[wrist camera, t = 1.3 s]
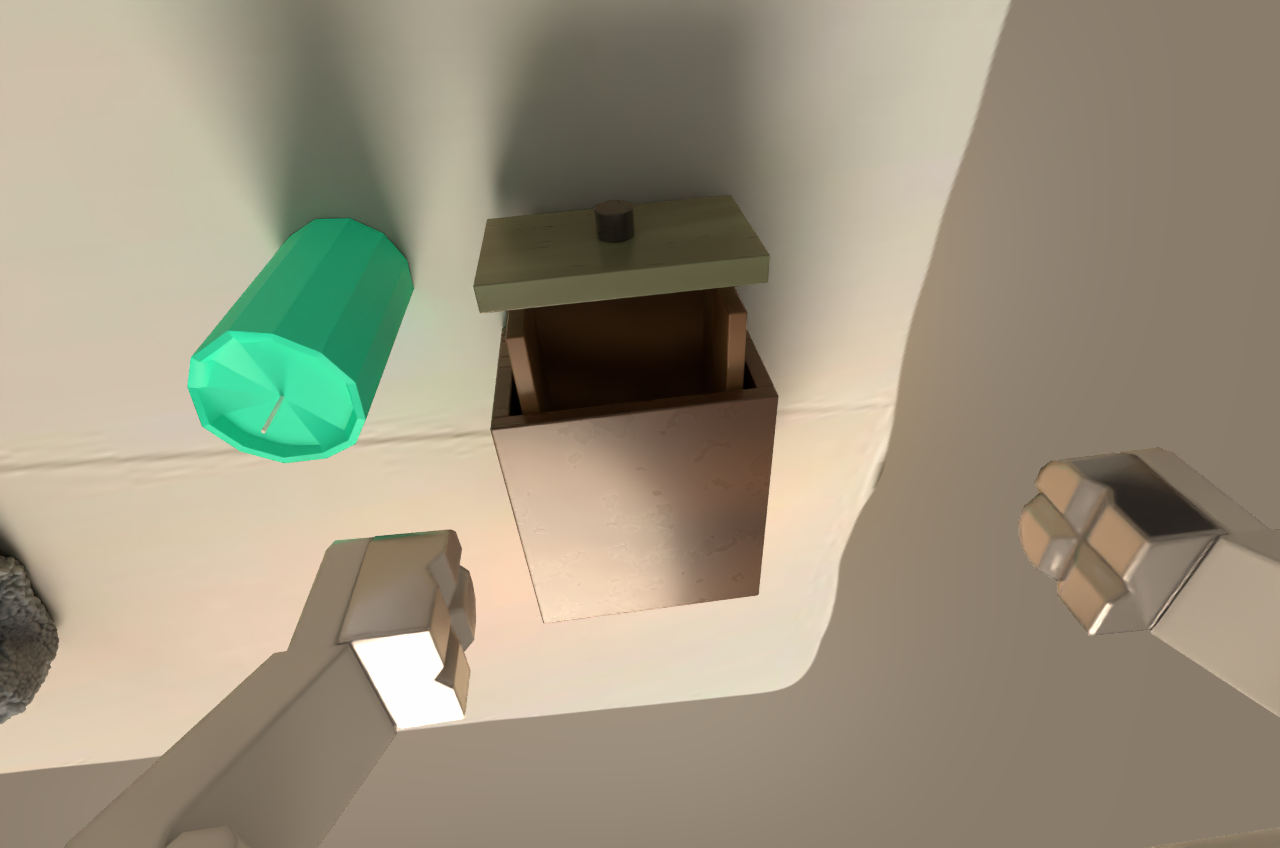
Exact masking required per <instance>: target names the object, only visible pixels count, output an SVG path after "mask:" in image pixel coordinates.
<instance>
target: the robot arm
mask: <svg viewBox="0 0 1280 848" xmlns="http://www.w3.org/2000/svg"><path fill="white" fill-rule="evenodd" d="M1035 484H1036V486H1037V488H1038V490H1039V492H1040V493H1039V494H1038V495H1036V496H1035V497H1034V498H1033V499H1032V500H1030V501H1029V502H1028V503H1027V504H1026V505H1025V506H1024V508H1023V511H1022V513H1021V516H1020V519H1019V521H1018V528H1019V539H1020V543H1021V545H1022V547H1023V550H1024V552H1025V554H1026V556H1027V557H1028V558H1029V560H1030V561H1031V563H1032V564H1033V565H1034V566H1035V568H1036V569H1037V570H1039V571H1040V572H1042V573H1044V574H1046V575H1047V576H1049V577H1051V578H1053V579H1055V580H1056V581H1058V592H1057V596H1058V597H1059V598H1060V599H1061V601H1062V602H1063V603H1064V604H1065V605H1066V607H1067V608H1068V609H1069V611H1070V612H1071V613H1072V614H1073V616H1074V617H1075V618H1076V619H1077V620H1078V622H1079V623H1080V624H1081V625H1082V627H1083V628H1084V629H1085V630H1086V632H1087V633H1088V634H1089V635H1090V636H1094V635H1104V634H1114V633H1123V632H1133V631H1143V630H1152V629H1153V630H1152V632H1151V633H1152V634H1153V635H1155V636H1156V637H1158V638H1159V639H1161V640H1162V641H1164V642H1166V643H1167V644H1169V645H1170V646H1172V647H1173V648H1175V649H1176V650H1178V651H1179V652H1181V653H1182V654H1184V655H1185V656H1187V657H1188V658H1190V659H1191V660H1193V661H1194V662H1196V663H1198V664H1199V665H1201V666H1202V667H1204V668H1205V669H1207V670H1208V671H1210V672H1211V673H1213V674H1214V675H1216V676H1218V677H1219V678H1220V679H1222V680H1224V681H1225V682H1226V683H1228V684H1230V685H1231V686H1233V687H1234V688H1236V689H1237V690H1239V691H1240V692H1242V693H1243V694H1245V695H1246V696H1248V697H1250V698H1251V699H1252V700H1254V701H1255V702H1257V703H1258V704H1260V705H1262V706H1263V707H1265V708H1266V709H1268V710H1269V711H1271V712H1272V713H1274V714H1275V715H1277V716H1279V717H1280V529H1275V530H1271V529H1270V528H1268V527H1267V526H1266V525H1265V524H1263V523H1262V522H1261V521H1260V520H1258V519H1257V518H1256V517H1254V516H1253V515H1252V514H1251V513H1249V512H1248V511H1247V510H1245V509H1244V508H1243V507H1242V506H1240V505H1239V504H1238V503H1237V502H1235V501H1234V500H1233V499H1232V498H1230V497H1229V496H1228V495H1226V494H1225V493H1224V492H1223V491H1221V490H1220V489H1219V488H1218V487H1216V486H1215V485H1214V484H1212V483H1211V482H1210V481H1209V480H1207V479H1206V478H1205V477H1204V476H1202V475H1201V474H1200V473H1198V472H1197V471H1196V470H1194V469H1193V468H1192V467H1191V466H1190V465H1188V464H1187V463H1186V462H1185V461H1183V460H1182V459H1181V458H1179V457H1178V456H1177V455H1176V454H1174V453H1172V452H1169V451H1167V450H1164V449H1162V448H1158V447H1157V448H1149V449H1141V450H1133V451H1125V452H1120V453H1110V454H1101V455H1093V456H1085V457H1077V458H1069V459H1061V460H1053V461H1050V462H1049V463H1047V464H1046V465H1045V466H1044V467H1042V468H1041V469H1040V472H1039V474H1038V476H1037V478H1036V480H1035ZM461 551H462V548H461V545H460V542H459V539H458V537H457V534H456V532H455V531H453V530H440V531H428V532H417V533H406V534H395V535H384V536H375V537H372V538H360V539H348V540H336V541H334V542H333V544H332V545H331V546H330V547H329V548H328V549H327V550H326V552H325V554H324V557H323V560H322V562H321V565H320V567H319V570H318V572H317V575H316V578H315V580H314V583H313V585H312V588H311V590H310V593H309V596H308V598H307V601H306V603H305V606H304V608H303V611H302V614H301V616H300V619H299V621H298V624H297V626H296V629H295V632H294V634H293V637H292V639H291V642H290V644H289V647H288V650H287V651H284V652H278V653H274V654H272V655H271V656H270V657H269V658H268V659H267V660H266V661H265V662H264V663H263V664H262V665H260V666H259V667H258V668H257V669H256V670H255V671H254V672H253V673H252V674H251V675H250V676H248V677H247V678H246V679H245V680H244V681H243V682H242V683H241V684H240V685H239V686H238V687H237V688H235V689H234V690H233V691H232V692H231V693H230V694H229V695H228V696H227V697H226V698H225V699H223V700H222V701H221V702H220V703H219V704H218V705H217V706H216V707H215V708H214V709H213V710H211V711H210V712H209V713H208V714H207V715H206V716H205V717H204V718H203V719H202V720H201V721H199V722H198V723H197V724H196V725H195V726H194V727H193V728H192V729H191V730H190V731H189V732H187V733H186V734H185V735H184V736H183V737H182V738H181V739H180V740H179V741H178V742H177V743H176V744H174V745H173V746H172V747H171V748H170V749H169V750H168V751H167V752H166V753H165V754H164V755H162V756H161V757H160V758H159V759H158V760H157V761H156V762H155V763H154V764H153V765H152V766H150V768H148V769H147V770H146V771H145V772H144V773H143V774H142V775H141V776H140V777H138V779H136V780H135V781H134V782H133V783H132V784H131V785H130V786H129V787H128V788H126V790H125V791H123V792H122V793H121V794H120V795H119V796H118V797H117V798H116V799H115V800H113V801H112V802H111V803H110V804H109V805H108V806H107V807H106V808H105V809H104V810H103V811H101V812H100V813H99V814H98V815H97V816H96V817H95V818H94V819H93V820H92V821H91V822H89V823H88V824H87V825H86V826H85V827H84V828H83V829H82V830H81V831H80V832H79V833H78V834H76V835H75V836H74V837H73V838H72V839H71V840H70V841H69V842H68V843H67V844H66V846H65V848H318V847H319V845H320V844H321V843H322V841H323V840H324V838H325V837H326V836H327V834H328V833H329V831H330V830H331V828H332V827H333V825H334V824H335V822H336V821H337V820H338V818H339V816H340V815H341V814H342V812H343V811H344V810H345V808H346V806H347V805H348V804H349V802H350V801H351V799H352V798H353V796H354V795H355V794H356V792H357V791H358V789H359V788H360V786H361V785H362V784H363V782H364V781H365V779H366V778H367V776H368V775H369V773H370V772H371V770H372V769H373V767H374V766H375V765H376V763H377V762H378V760H379V759H380V757H381V756H382V755H383V753H384V752H385V750H386V749H387V747H388V746H389V744H390V743H391V742H392V740H393V739H394V737H395V736H396V734H397V731H396V730H395V729H401V728H407V727H414V726H420V725H426V724H432V723H439V722H445V721H451V720H458V719H464V718H465V711H466V703H467V695H468V687H469V678H470V667H469V665H468V662H467V659H466V656H465V653H464V651H465V650H466V649H467V648H468V647H469V645H470V644H471V643H472V642H473V641H474V635H475V625H476V604H475V594H474V588H473V583H472V579H471V576H470V573H469V571H468V570H466V569H465V568H463V567H462V566H460V558H461ZM1147 848H1280V827H1277V828H1270V829H1264V830H1257V831H1251V832H1244V833H1238V834H1232V835H1225V836H1219V837H1213V838H1206V839H1200V840H1193V841H1186V842H1180V843H1173V844H1167V845H1160V846H1154V847H1147Z"/></svg>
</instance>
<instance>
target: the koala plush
mask: <svg viewBox="0 0 1280 848" xmlns="http://www.w3.org/2000/svg"><path fill="white" fill-rule="evenodd" d="M24 568H25V567H24V566H21V565H20V563H19V562H18V560H17V559H15V560H14V558H13V557H4V556H0V724H2V723H4V722H5V721H6V720H7V719H10V718H11V717H12V716H14V715H18V714H19V713H23V712H24V711H25V710H26V708H25V707H26V706H27V705H28V704H30V703H31V701H32V700H33V698H34V696H35V693H37V692H38V691H39V688H40V687H41V684H42V683H44V682H45V678H46V676H47V675H48V670H49V669H50V668H51V666H50V663H51V662H52V661H53V660H54V658H55V657H56V652H57V649H58V643H59V638H58V634H57V629H56V627H55V625H54V624H52V623H53V622H54V621H53V620H52V619H51V618H49V617H50V615H49V614H48V613H47V611H46V609H45V607H44V605H43V604H40V602H41V601H40V599H39V598H37V597H36V596H33V595H34V592H33V590H32V589H31V588H30V587H31V585H30V580H29V579H27V578H26V575H27V572H26V571H25V570H24Z"/></svg>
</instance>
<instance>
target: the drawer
mask: <svg viewBox="0 0 1280 848" xmlns="http://www.w3.org/2000/svg"><path fill="white" fill-rule="evenodd" d="M769 259H770V255H769V253H768V252H767V250H766V249H765V247H764V246H763V244H762V242H761V241H760V239H759V238H758V236H757V235H756V233H755V232H754V230H753V229H752V227H751V225H750V224H749V222H748V221H747V219H746V218H745V216H744V215H743V213H742V212H741V210H740V209H739V207H738V205H737V204H736V202H735V201H734V199H733V198H732V196H731V195H724V196H714V197H704V198H694V199H684V200H674V201H664V202H654V203H644V204H634V205H632V204H631V203H629V202H627V201H621V200H613V201H606V202H603V203H600V204H598V205H597V206H596V207H595V208H593V209H583V210H573V211H563V212H553V213H543V214H533V215H523V216H513V217H503V218H493V219H487V223H486V228H485V232H484V237H483V242H482V247H481V252H480V257H479V262H478V266H477V271H476V276H475V281H474V286H473V287H474V291H475V295H476V299H477V303H478V307H479V311H480V313H488V312H498V311H507V310H508V318H507V327H506V337H505V340H506V344H507V349H508V353H509V357H510V362H511V366H512V371H513V375H514V379H515V384H516V388H517V393H518V397H519V401H520V406H521V410H522V415H526V414H535V413H544V412H552V411H561V410H570V409H578V408H587V407H596V406H604V405H613V404H622V403H630V402H639V401H648V400H656V399H665V398H674V397H682V396H691V395H700V394H708V393H717V392H726V391H735V390H743V380H744V362H745V344H746V326H747V311H746V309H745V307H744V305H743V303H742V301H741V299H740V297H739V295H738V293H737V291H736V289H735V287H734V286H741V285H750V284H759V283H767V282H768V272H769Z"/></svg>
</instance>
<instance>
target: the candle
mask: <svg viewBox="0 0 1280 848" xmlns="http://www.w3.org/2000/svg"><path fill="white" fill-rule="evenodd" d="M413 289H414V288H413V284H412V279H411V275H410V271H409V266H408V262H407V259H406V258H405V257H404V256H403V255H402V254H401V252H400V251H399V250H398V249H397V248H396V247H395V246H394V244H393V243H392V242H391V241H390V240H389V239H388V238H387V237H386V235H385V234H384V233H382V232H380V231H377V230H375V229H373V228H371V227H368V226H366V225H364V224H362V223H360V222H357V221H355V220H353V219H351V218H334V219H314V220H313V221H311V222H310V223H308V224H307V225H305V226H304V227H303V228H301V229H300V230H298V231H297V232H295V233H294V234H292V235H291V236H290V237H289V238H288V239H287V240H286V242H285V243H284V244H283V245H282V246H281V248H280V249H279V250H278V251H277V253H276V254H275V255H274V256H273V258H272V259H271V260H270V261H269V262H268V264H267V265H266V266H265V267H264V269H263V270H262V271H261V272H260V273H259V275H258V276H257V277H256V278H255V280H254V281H253V282H252V283H251V284H250V286H249V287H248V288H247V289H246V291H245V292H244V293H243V294H242V296H241V297H240V298H239V299H238V300H237V302H236V303H235V304H234V305H233V307H232V308H231V309H230V310H229V311H228V313H227V314H226V315H225V316H224V318H223V319H222V320H221V321H220V322H219V324H218V325H217V326H216V327H215V329H214V330H213V331H212V332H211V334H210V335H209V336H208V337H207V338H206V340H205V341H204V342H203V343H202V345H201V346H200V347H199V348H198V349H197V351H196V352H195V353H194V354H193V356H192V357H191V361H190V369H189V378H188V386H187V387H188V390H189V392H190V395H191V398H192V400H193V403H194V406H195V409H196V411H197V414H198V417H199V419H200V422H201V425H202V427H204V428H205V429H207V430H208V431H210V432H211V433H213V434H214V435H216V436H217V437H219V438H221V439H222V440H224V441H225V442H227V443H228V444H230V445H231V446H233V447H234V448H236V449H238V450H239V451H241V452H245V453H249V454H252V455H256V456H260V457H263V458H267V459H271V460H274V461H278V462H282V463H290V462H299V461H308V460H316V459H325V458H328V457H330V456H332V455H334V454H336V453H338V452H340V451H342V450H344V449H346V448H348V447H350V446H352V445H354V444H356V442H357V439H358V437H359V435H360V432H361V430H362V427H363V425H364V423H365V420H366V418H367V415H368V412H369V409H370V407H371V404H372V401H373V399H374V396H375V393H376V390H377V388H378V385H379V382H380V379H381V377H382V374H383V371H384V369H385V366H386V363H387V360H388V358H389V355H390V352H391V349H392V347H393V344H394V341H395V339H396V336H397V333H398V330H399V328H400V325H401V322H402V319H403V317H404V314H405V311H406V309H407V306H408V303H409V300H410V298H411V295H412V292H413Z"/></svg>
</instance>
